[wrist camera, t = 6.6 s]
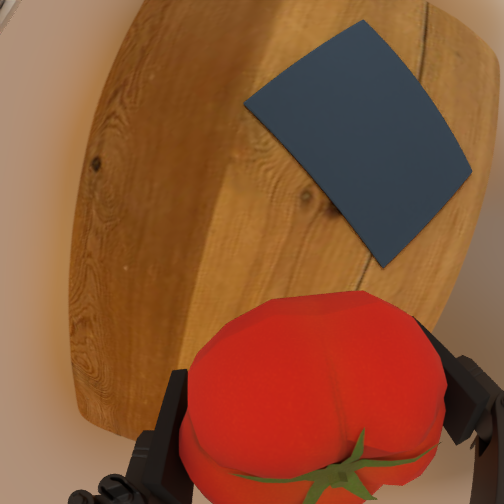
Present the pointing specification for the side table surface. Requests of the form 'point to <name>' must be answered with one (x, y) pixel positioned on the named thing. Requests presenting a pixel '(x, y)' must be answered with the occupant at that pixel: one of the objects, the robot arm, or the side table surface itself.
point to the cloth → (365, 137)
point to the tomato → (312, 403)
